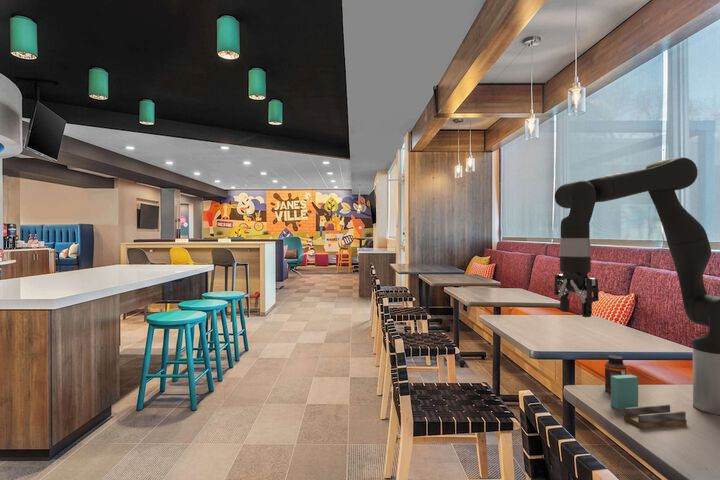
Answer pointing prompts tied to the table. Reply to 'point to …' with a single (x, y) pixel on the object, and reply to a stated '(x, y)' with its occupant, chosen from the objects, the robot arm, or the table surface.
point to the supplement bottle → (613, 369)
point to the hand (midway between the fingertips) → (575, 314)
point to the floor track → (654, 416)
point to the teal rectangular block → (624, 391)
